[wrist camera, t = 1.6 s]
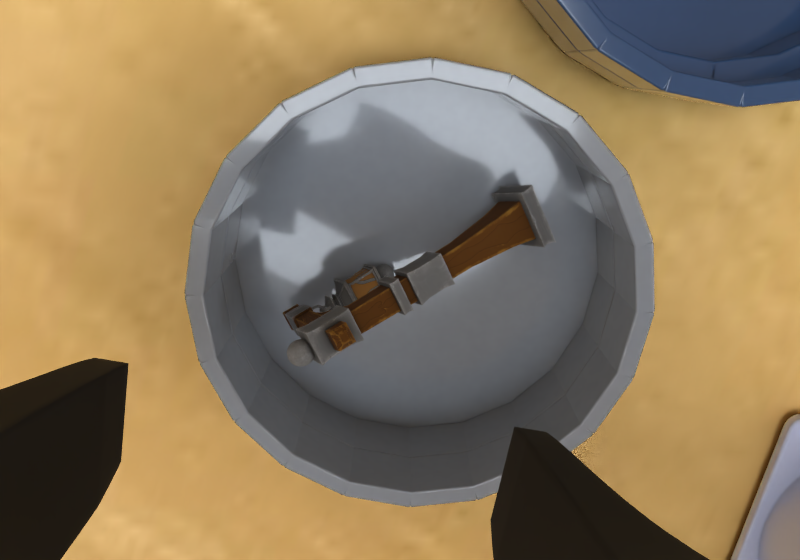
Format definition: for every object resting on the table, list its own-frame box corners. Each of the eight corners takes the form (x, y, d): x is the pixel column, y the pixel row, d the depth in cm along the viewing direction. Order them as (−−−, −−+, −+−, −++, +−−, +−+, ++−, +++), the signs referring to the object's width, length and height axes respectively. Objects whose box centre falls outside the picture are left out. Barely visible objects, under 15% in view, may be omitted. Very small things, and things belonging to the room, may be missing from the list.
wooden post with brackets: (247, 310, 21) (279, 335, 17) (461, 188, 23) (536, 184, 19) (276, 361, 22) (313, 397, 18) (483, 236, 24) (560, 242, 20)
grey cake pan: (659, 106, 21) (718, 116, 17) (554, 462, 24) (583, 537, 20) (251, 21, 20) (216, 11, 16) (202, 400, 23) (163, 465, 20)
